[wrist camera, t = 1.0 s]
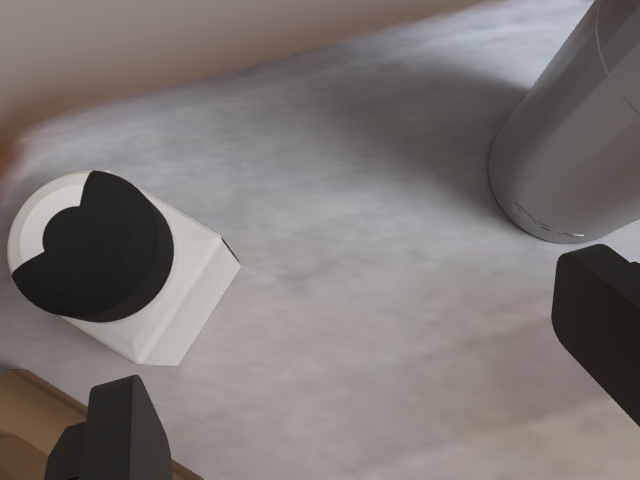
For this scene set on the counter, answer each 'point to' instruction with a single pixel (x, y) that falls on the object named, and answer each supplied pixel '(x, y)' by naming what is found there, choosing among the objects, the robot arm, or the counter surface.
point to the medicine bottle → (119, 265)
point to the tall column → (39, 426)
